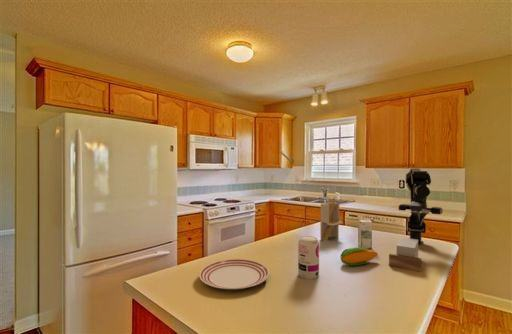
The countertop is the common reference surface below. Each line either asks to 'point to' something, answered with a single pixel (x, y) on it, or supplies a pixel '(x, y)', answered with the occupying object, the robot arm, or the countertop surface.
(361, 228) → the syrup box
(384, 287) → the countertop surface
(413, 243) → the slab
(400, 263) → the stop rail
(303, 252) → the supplement can
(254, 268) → the dinner plate
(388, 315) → the countertop surface
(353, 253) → the corn
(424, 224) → the robot arm
